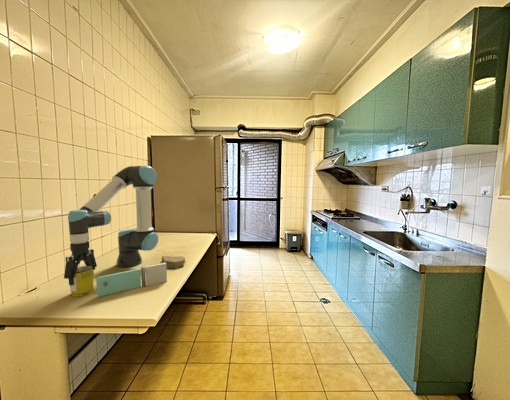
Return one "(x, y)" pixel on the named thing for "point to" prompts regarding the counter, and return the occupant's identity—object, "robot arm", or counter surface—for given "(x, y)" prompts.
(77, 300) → the counter surface
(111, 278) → the door
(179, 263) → the stone
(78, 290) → the beverage can
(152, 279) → the wall
